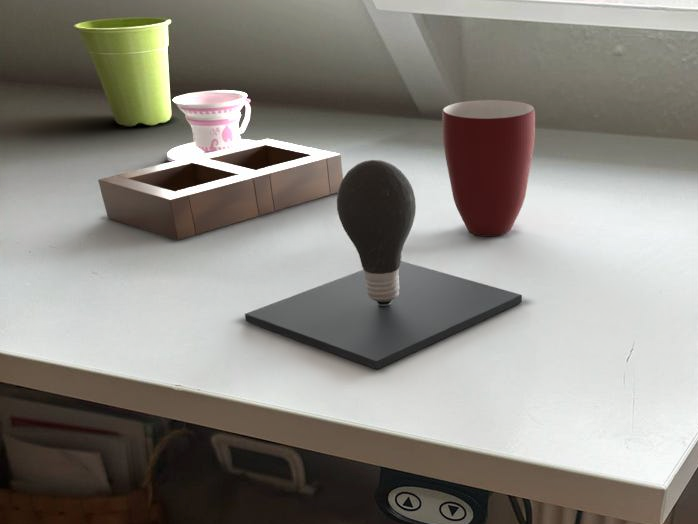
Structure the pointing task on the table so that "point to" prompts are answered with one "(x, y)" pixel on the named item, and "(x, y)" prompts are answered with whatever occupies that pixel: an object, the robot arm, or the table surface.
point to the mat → (383, 314)
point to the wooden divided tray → (220, 187)
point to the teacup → (212, 122)
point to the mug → (488, 161)
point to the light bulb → (377, 222)
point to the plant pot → (131, 66)
